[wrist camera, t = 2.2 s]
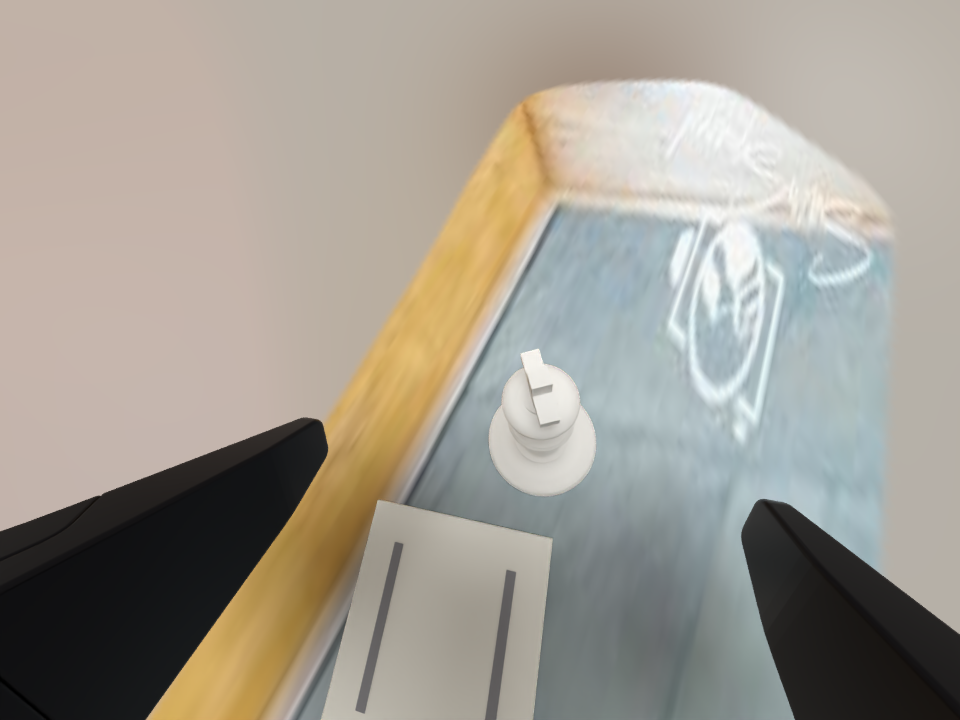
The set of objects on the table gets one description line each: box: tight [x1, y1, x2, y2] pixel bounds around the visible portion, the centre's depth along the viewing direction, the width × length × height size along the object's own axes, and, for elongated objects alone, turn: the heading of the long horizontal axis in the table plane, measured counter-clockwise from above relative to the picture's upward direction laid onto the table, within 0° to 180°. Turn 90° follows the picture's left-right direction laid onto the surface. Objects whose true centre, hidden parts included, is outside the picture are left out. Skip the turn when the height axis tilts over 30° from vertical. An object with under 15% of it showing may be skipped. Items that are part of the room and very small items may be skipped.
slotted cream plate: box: [321, 500, 553, 720], centre depth 14 cm, size 10×8×1 cm
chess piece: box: [489, 349, 596, 497], centre depth 12 cm, size 5×5×10 cm
